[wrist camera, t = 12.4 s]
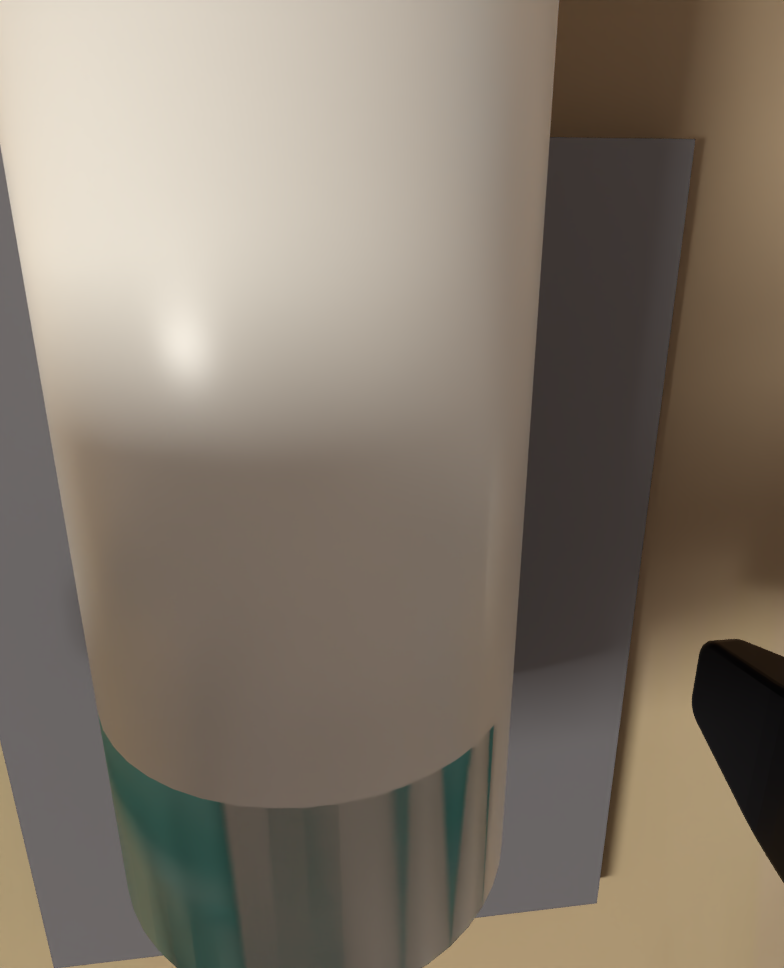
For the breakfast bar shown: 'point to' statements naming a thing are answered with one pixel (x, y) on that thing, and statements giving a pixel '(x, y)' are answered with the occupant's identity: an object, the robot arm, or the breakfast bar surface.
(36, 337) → the cylinder
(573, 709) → the mat
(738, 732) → the robot arm
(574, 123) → the breakfast bar surface
